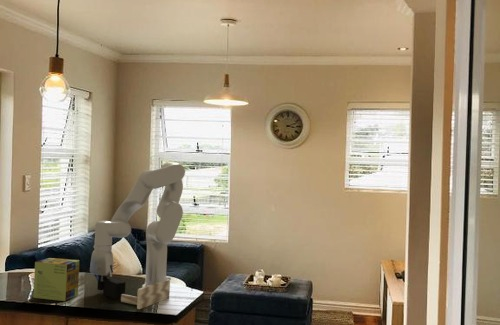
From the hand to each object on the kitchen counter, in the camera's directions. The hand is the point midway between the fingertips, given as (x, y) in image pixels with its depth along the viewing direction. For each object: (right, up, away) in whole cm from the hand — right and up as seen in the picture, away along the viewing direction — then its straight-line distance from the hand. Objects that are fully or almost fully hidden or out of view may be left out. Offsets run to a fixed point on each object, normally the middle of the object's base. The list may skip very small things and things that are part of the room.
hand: (101, 289), depth 230 cm
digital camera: (+7, -2, -4) cm, 9 cm away
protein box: (-17, -1, -8) cm, 19 cm away
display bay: (+20, -3, -10) cm, 22 cm away
